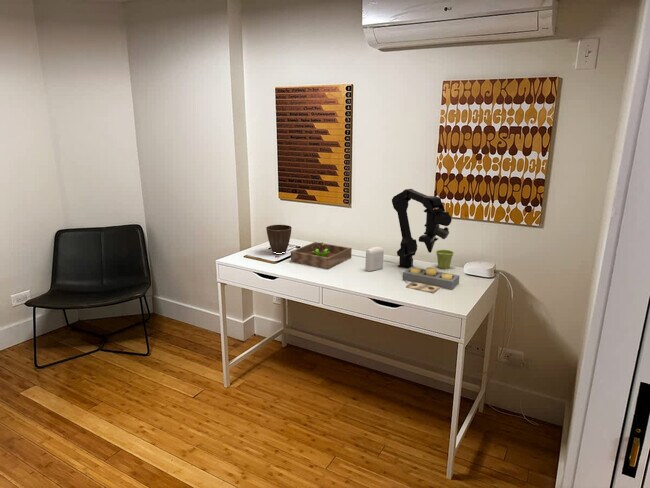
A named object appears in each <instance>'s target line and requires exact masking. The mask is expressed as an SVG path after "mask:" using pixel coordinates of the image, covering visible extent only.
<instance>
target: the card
mask: <svg viewBox="0 0 650 488" xmlns="http://www.w3.org/2000/svg"><path fill="white" fill-rule="evenodd" d="M405 288H406V289H410V290H415V291H419V292H420V291H421V292H424V293H425V292H426V293H431V294H435V293H436V292H437V291H439V290H440V287H437V286H432V285H427V284H422V283H417V282H409V283H408V284H406V286H405Z"/></svg>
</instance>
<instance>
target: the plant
mask: <svg viewBox="0 0 650 488" xmlns="http://www.w3.org/2000/svg"><path fill="white" fill-rule="evenodd" d="M319 243H320V245H321V248H319V247H318V246H312V249H313V248H314V247H317V248H318V249H316V250H315V251H313V253H308V254H311V255H317V256H322V257H327V258H328V257H330V256H332V255H334V254H335V253H331V252H330V251H329V252H327V251H328V249H325V250H323V246H324V242H319Z"/></svg>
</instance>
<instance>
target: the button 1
mask: <svg viewBox="0 0 650 488" xmlns="http://www.w3.org/2000/svg"><path fill="white" fill-rule="evenodd" d="M419 268H420V267H415V268H411V271H410V272H412V273H417V274H419V273H421V269H422V268H421V269H419Z"/></svg>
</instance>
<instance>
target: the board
mask: <svg viewBox="0 0 650 488" xmlns="http://www.w3.org/2000/svg"><path fill="white" fill-rule="evenodd" d="M411 268H416V267H415V266H412V267H410V268H409V269H408V268H406V270H404V271H403V272H402V281H405V282H409V283H411V282H417V283H422V284H427V285H432V286H437V287H440V288H441V289H446V290H451V291H453V290H454V289H455V287H457V286H458V285H459V284H460V275H459V274H453V273H447V272H442V271H437V270H436V276H435V277H433V276H428V275H426V268H420V267H418V268H419V269H421V273H419V274H417V273H412V272H410V271H411ZM445 273H447V274H451V275H452V279H451V280H449V279H444V278H441V277H442V274H445Z"/></svg>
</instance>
